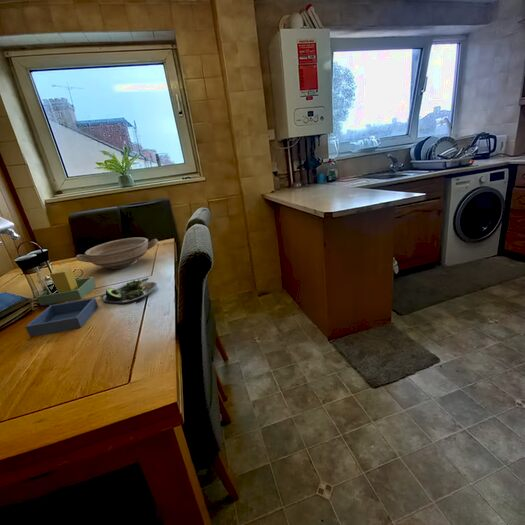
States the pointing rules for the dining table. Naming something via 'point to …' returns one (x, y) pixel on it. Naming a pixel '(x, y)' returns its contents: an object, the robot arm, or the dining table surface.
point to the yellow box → (64, 280)
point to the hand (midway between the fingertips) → (9, 241)
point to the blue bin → (62, 317)
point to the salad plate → (129, 292)
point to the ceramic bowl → (118, 252)
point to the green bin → (68, 292)
